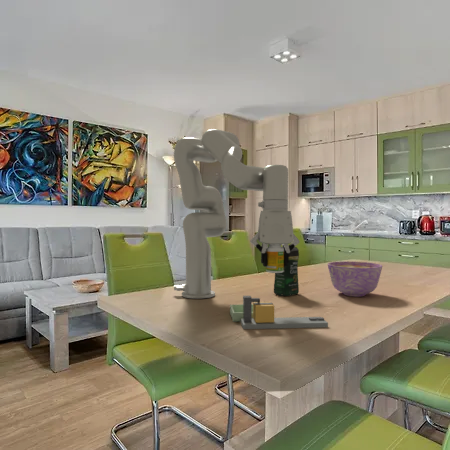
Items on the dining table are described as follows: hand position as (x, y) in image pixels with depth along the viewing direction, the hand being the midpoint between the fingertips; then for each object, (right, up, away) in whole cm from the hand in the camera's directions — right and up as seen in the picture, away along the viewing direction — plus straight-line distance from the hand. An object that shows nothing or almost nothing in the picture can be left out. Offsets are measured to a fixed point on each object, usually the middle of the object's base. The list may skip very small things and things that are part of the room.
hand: (274, 265), depth 111 cm
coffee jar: (+9, -15, +30) cm, 35 cm away
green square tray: (-8, -15, -2) cm, 17 cm away
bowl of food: (+35, -15, +30) cm, 48 cm away
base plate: (+1, -15, -10) cm, 19 cm away
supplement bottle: (0, -2, 0) cm, 2 cm away
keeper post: (-8, -15, -11) cm, 20 cm away
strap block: (-5, -14, -11) cm, 18 cm away
